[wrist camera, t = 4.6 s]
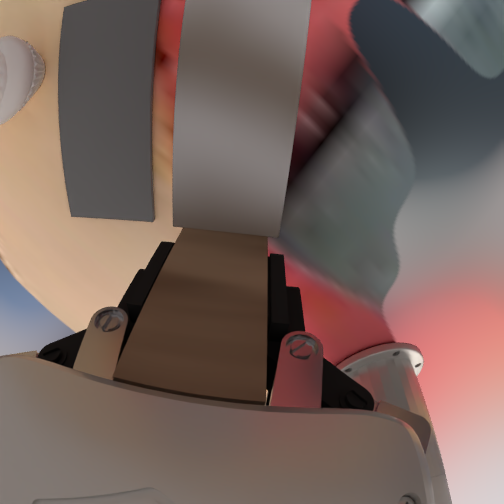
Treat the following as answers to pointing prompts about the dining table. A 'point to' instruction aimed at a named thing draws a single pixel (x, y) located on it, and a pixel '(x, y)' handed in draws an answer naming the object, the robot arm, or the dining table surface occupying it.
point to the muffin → (18, 75)
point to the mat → (108, 107)
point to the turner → (223, 201)
